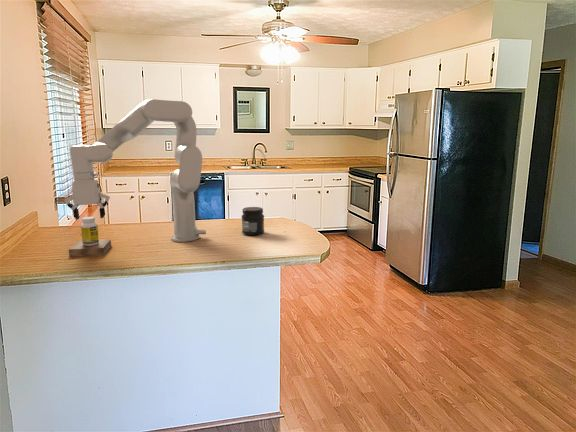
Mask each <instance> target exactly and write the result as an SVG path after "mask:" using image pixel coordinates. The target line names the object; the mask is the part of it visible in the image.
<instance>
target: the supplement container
mask: <svg viewBox="0 0 576 432" xmlns="http://www.w3.org/2000/svg"><path fill="white" fill-rule="evenodd" d="M263 213H264V209H263V207H259V206H249V207H248V206H247V207H244V208H242V215H241V232H242V234H243V235H244V236H247V237H257V236H261V235H263V234H264V233H265V214H263Z"/></svg>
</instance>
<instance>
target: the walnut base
mask: <svg viewBox="0 0 576 432" xmlns="http://www.w3.org/2000/svg"><path fill="white" fill-rule="evenodd" d="M111 241H112V240H111V239H99V243H98V244H96V245H92V246H85V245H83V243H82V240H78V241H76V242H75V243H74V244H73V245H72V246H71V247H69V249H68V256H69V258H71V257H89V256H90V257H91V256H92V257H93V256H94V257H95V256H105V254H107V252H108V251H109V249H110V248H111V247H112V242H111Z"/></svg>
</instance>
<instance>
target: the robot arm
mask: <svg viewBox="0 0 576 432" xmlns="http://www.w3.org/2000/svg"><path fill="white" fill-rule="evenodd" d="M155 121H156V122H166V123H173V124H174V126H175V128H176V129H175V130H176V137H175V138H176V139H175V147H174V160H175V162H176V163H177V164H178V165H179V167H178V168H177V169H174V170H173V172H172V173H171V175H170V178H169V183H170V184H169V186H170V191H171V199H172V214H173V215H172V219H173V233H174V234H173V235H171V236H170V239H171V241H173V242H179V243H187V242H194V241H197V240H199V239H200V235H207V230H206V229H198V228H197V226H196V209H195V208H196V207H195V205H196V204H195V203H196V202H195V194H194V192H195V191H197V189H198V188H199V186H200V183H201V176H202V168H203V167H202V166H203V153H202V151H201V150H200V149H199V147H198V146H197V134H198V133H197V125H196V122H195V120H194V118H193V109H192V107H191V105H190V104H189V103H188V102H187V101H186V102H185V101H182V100H181V101H180V100H165V99H154V98H151V99H146V100H144V101H142V102H140V103H139V104H138V105H137V106H136V107H135V108H134V109H132V110H131V111H130V112H129V113H128V114H127V115H125V117H123V118H122V119H121V120H119V122H118V123H116V124H115V125H114V126H113V127H112V128H110V129H108V131H106V132H105V133H104V134H103V135H102V136H101V137H100V138H98V140H96V141H95V142H94V143H92V145H90V144H89V145H88V144H74V145H71V146H70V147H69V154H70V161H71V166H72V173H73V180H72V185H71V193H72V194H71V195H70V196H68V197H67V198H65V199H63V201H64V203H65V204H66V205H67V207H68V208H70V209H71V210H72V213H73V218H74V219H75V220H76V221H77V220H79V219H80V212H79V208H78V207H79V206H88V205H90V206H91V205H97V206H98V207H99V217H100V219H103V218H104V217H105V216H106V211H105V207H106V206H107V205H108V203H109V201H110V198H111V196H109V195H107V194H105V193H102V192H101V187H100V184H99V180H98V178H96V177H98V176H99V174H98V173H99V172H95V170H94V165H93V164H94V163H100V164H101V163H103V164H105V163H107V162H109V161H111V160H112V159H113V154H114V152H115V151H116V150H117V149H119V147H121V146H122V145H124V144H125V143H127V142H130V141H132V140H134V139H135V138H136V137H138V136H139V135H140V134H141V133H142V132H143V131H144V130H146V128H148V127H149V126H150V125H151V124H152V123H153V122H155ZM103 199H104V202H102V201H103ZM70 200H72V202H73V203H72V202H71V201H70Z"/></svg>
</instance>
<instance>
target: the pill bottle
mask: <svg viewBox="0 0 576 432" xmlns="http://www.w3.org/2000/svg"><path fill="white" fill-rule="evenodd" d="M81 219H82V220H81V221H82V223H81V225H80V231H81V241H82V243H83V245H85V246H92V245H96V244H98V243H99V240H100V239H99V227H98V223H97V222H96V219H95V216H85V217H81Z"/></svg>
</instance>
